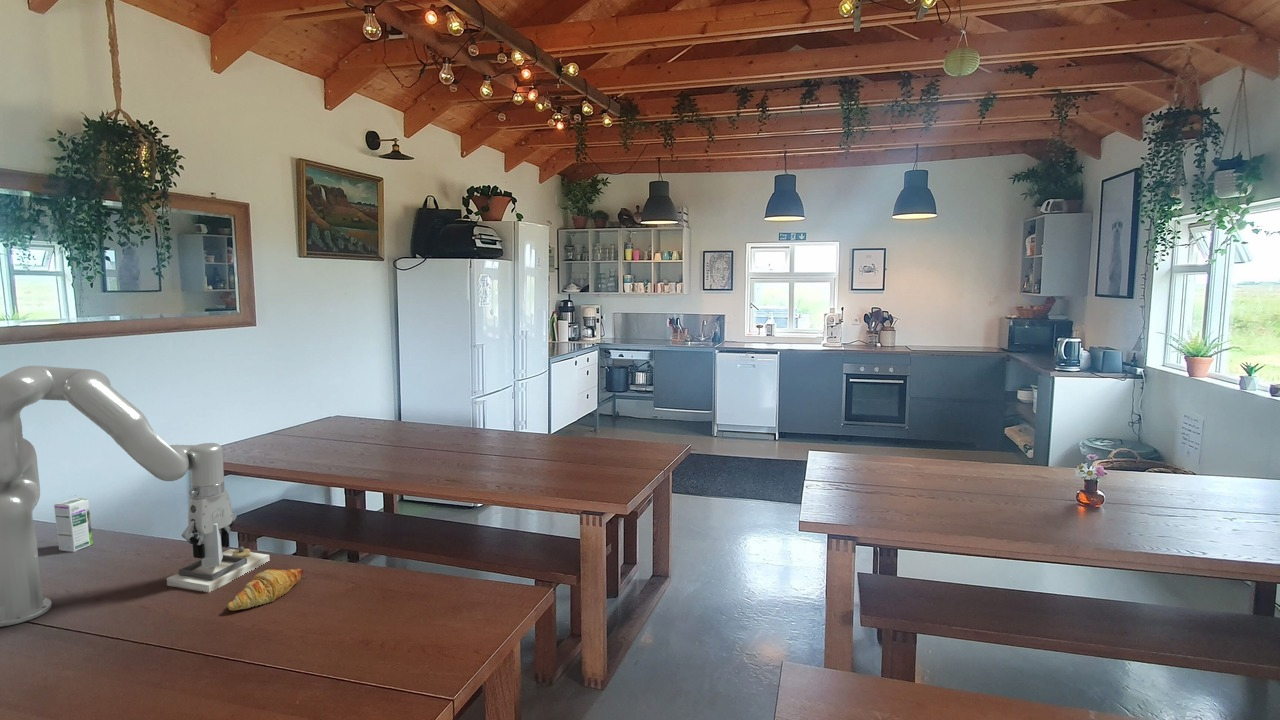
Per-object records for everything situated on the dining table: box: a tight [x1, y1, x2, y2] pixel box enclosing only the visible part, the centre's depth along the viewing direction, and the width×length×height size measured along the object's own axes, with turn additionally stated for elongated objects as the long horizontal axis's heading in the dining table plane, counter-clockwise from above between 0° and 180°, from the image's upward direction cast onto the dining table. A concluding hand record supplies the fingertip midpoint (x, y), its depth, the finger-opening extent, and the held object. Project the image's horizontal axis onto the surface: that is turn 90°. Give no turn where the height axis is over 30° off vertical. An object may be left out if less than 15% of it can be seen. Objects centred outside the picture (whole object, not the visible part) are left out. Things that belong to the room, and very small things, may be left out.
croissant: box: [227, 568, 304, 611], centre depth 173 cm, size 21×10×8 cm, turn 158°
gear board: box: [166, 545, 271, 593], centre depth 185 cm, size 20×14×5 cm
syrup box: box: [53, 497, 94, 553], centre depth 200 cm, size 6×6×14 cm
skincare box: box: [200, 523, 223, 568], centre depth 182 cm, size 6×4×12 cm
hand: (211, 551), depth 183 cm, fingers closed on skincare box, 7 cm apart
